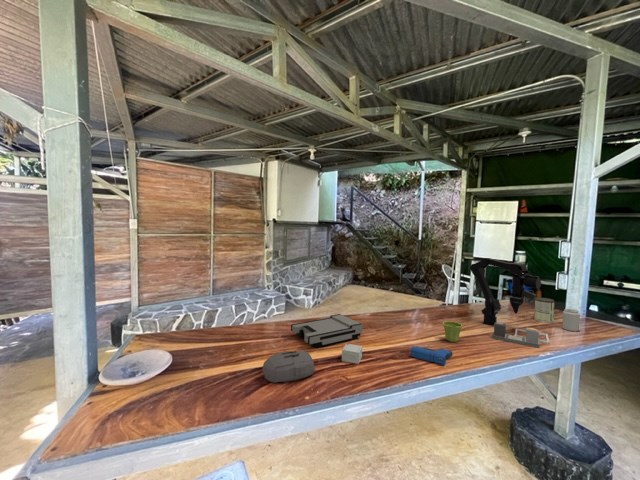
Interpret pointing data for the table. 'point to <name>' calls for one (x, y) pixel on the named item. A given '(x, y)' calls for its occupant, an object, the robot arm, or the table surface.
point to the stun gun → (431, 354)
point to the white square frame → (538, 334)
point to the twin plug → (499, 329)
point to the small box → (352, 353)
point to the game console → (328, 330)
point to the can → (571, 320)
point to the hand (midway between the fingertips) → (516, 311)
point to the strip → (515, 340)
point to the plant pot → (452, 330)
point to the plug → (532, 335)
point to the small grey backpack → (288, 366)
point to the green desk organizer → (544, 309)
